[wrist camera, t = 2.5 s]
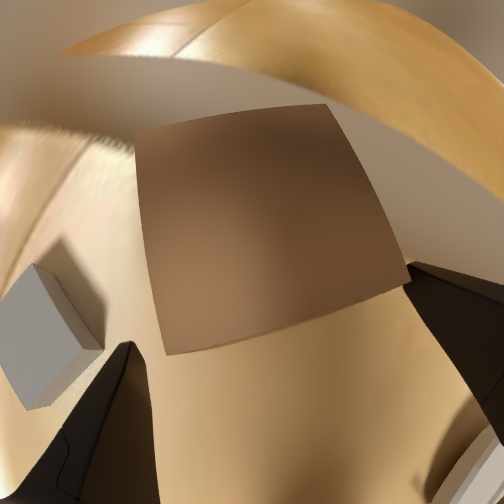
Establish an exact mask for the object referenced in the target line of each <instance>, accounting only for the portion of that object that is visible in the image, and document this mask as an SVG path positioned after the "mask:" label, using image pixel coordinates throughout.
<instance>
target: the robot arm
mask: <svg viewBox="0 0 504 504" xmlns="http://www.w3.org/2000/svg"><path fill="white" fill-rule="evenodd" d="M406 267H407V269H408V272H409V275H410V278H411V281H410V282H408V283H406V284H404V285H403V290H404V292H405V293H406V295H407V296H408V298H409V299H410V301H411V303H412V304H413V306H414V307H415V309H416V311H417V312H418V314H419V315H420V317H421V319H422V320H423V322H424V323H425V325H426V326H427V327H428V329H429V330H430V331H431V333H432V334H433V336H434V337H435V338H436V340H437V341H438V343H439V344H440V345H441V347H442V348H443V350H444V351H445V352H446V354H447V355H448V357H449V358H450V360H451V361H452V363H453V364H454V366H455V367H456V369H457V370H458V372H459V373H460V375H461V376H462V378H463V379H464V381H465V382H466V384H467V385H468V387H469V389H470V390H471V392H472V393H473V395H474V397H475V398H476V400H477V402H478V403H479V405H480V407H481V409H482V410H483V412H484V414H485V416H486V417H487V419H488V421H489V423H490V424H491V426H492V428H493V430H494V432H495V434H496V436H497V437H498V439H499V441H500V443H501V445H502V446H503V447H504V285H500V284H498V283H494V282H490V281H487V280H484V279H480V278H476V277H473V276H470V275H466V274H462V273H459V272H455V271H451V270H448V269H444V268H440V267H436V266H433V265H429V264H425V263H421V262H417V261H415V262H412V263H409V264H407V265H406ZM0 504H160V497H159V489H158V481H157V472H156V462H155V451H154V437H153V419H152V407H151V400H150V393H149V386H148V378H147V370H146V364H145V361H144V358H143V357H142V355H141V353H140V351H139V350H138V348H137V346H136V344H135V343H134V342H133V341H127V342H122V343H120V344H119V345H118V346H117V348H116V349H115V350H114V352H113V353H112V354H111V356H110V357H109V358H108V360H107V361H106V363H105V364H104V365H103V367H102V368H101V370H100V371H99V372H98V374H97V375H96V377H95V378H94V379H93V381H92V382H91V384H90V385H89V387H88V388H87V389H86V391H85V392H84V394H83V395H82V397H81V398H80V400H79V401H78V403H77V404H76V406H75V407H74V409H73V410H72V412H71V413H70V415H69V416H68V418H67V419H66V421H65V422H64V424H63V425H62V428H60V430H59V431H58V433H57V434H56V436H55V437H54V439H53V440H52V442H51V443H50V445H49V446H48V448H47V449H46V451H45V452H44V454H43V455H42V456H41V458H40V459H39V460H38V462H37V463H36V464H35V466H34V467H33V468H32V470H31V471H30V472H29V474H28V475H27V476H26V478H25V479H24V480H23V482H22V483H21V484H20V486H19V487H18V488H17V489H16V491H14V492H13V493H12V494H11V495H9V496H8V497H6V498H3V499H0ZM496 504H504V496H503V497H502V498H501V499H500V500H499V501H498V502H497V503H496Z"/></svg>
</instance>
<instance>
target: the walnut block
mask: <svg viewBox="0 0 504 504" xmlns="http://www.w3.org/2000/svg"><path fill="white" fill-rule="evenodd" d="M134 140H135V159H136V174H137V186H138V197H139V207H140V216H141V224H142V232H143V239H144V246H145V253H146V259H147V265H148V271H149V277H150V283H151V288H152V293H153V298H154V303H155V308H156V313H157V318H158V322H159V327H160V331H161V335H162V340H163V344H164V348H165V352H166V356H168V355H176V354H183V353H190V352H196V351H203V350H209V349H213V348H217V347H221V346H225V345H229V344H233V343H237V342H241V341H245V340H248V339H252V338H256V337H259V336H263V335H266V334H270V333H273V332H277V331H280V330H284V329H287V328H290V327H293V326H297V325H300V324H303V323H306V322H309V321H312V320H314V319H317V318H320V317H323V316H326V315H329V314H331V313H334V312H337V311H339V310H342V309H345V308H347V307H350V306H353V305H355V304H358V303H360V302H363V301H365V300H368V299H370V298H373V297H375V296H378V295H380V294H383V293H385V292H387V291H390V290H392V289H394V288H397V287H399V286H401V285H404V284H406V283H408V282H410V281H411V278H410V275H409V272H408V269H407V267H406V264H405V261H404V259H403V256H402V253H401V251H400V248H399V246H398V243H397V241H396V238H395V236H394V233H393V231H392V229H391V226H390V224H389V222H388V219H387V217H386V215H385V212H384V210H383V208H382V206H381V204H380V201H379V199H378V197H377V195H376V193H375V191H374V189H373V187H372V185H371V183H370V181H369V179H368V177H367V175H366V173H365V171H364V169H363V167H362V165H361V163H360V161H359V160H358V158H357V156H356V154H355V152H354V150H353V149H352V147H351V145H350V143H349V141H348V139H347V138H346V136H345V134H344V133H343V131H342V129H341V128H340V126H339V124H338V122H337V121H336V119H335V118H334V116H333V114H332V113H331V111H330V110H329V108H328V106H327V105H326V104H314V105H297V106H285V107H275V108H265V109H257V110H249V111H241V112H235V113H228V114H222V115H216V116H211V117H205V118H200V119H195V120H190V121H186V122H181V123H176V124H172V125H168V126H164V127H160V128H156V129H152V130H148V131H144V132H140V133H137V134H134Z"/></svg>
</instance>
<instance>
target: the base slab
mask: <svg viewBox="0 0 504 504" xmlns="http://www.w3.org/2000/svg"><path fill="white" fill-rule="evenodd" d="M103 351H104V349H103V348H102V346H101V345H100V344H99V342H98V341H97V340H96V338H95V337H94V336H93V334H92V333H91V331H90V330H89V329H88V327H87V326H86V324H85V323H84V321H83V320H82V318H81V317H80V315H79V314H78V312H77V311H76V309H75V308H74V306H73V305H72V303H71V302H70V300H69V299H68V297H67V295H66V294H65V292H64V290H63V289H62V287H61V285H60V284H59V282H58V280H57V279H56V277H55V275H54V274H52V273H50V272H48V271H46V270H44V269H42V268H40V267H39V266H37V265H35V264H33V263H32V264H31V265H30V266H29V267H28V268H27V269H26V271H25V272H24V273H23V274H22V275H21V276H20V278H19V279H18V280H17V281H16V283H15V284H14V285H13V286H12V288H11V289H10V290H9V291H8V293H7V294H6V295H5V296H4V298H3V299H2V300H1V302H0V365H1V367H2V369H3V371H4V373H5V375H6V377H7V379H8V380H9V382H10V384H11V386H12V388H13V389H14V391H15V393H16V394H17V396H18V398H19V399H20V401H21V403H22V404H23V406H24V407H25V409H26V410H27V411H28V410H33V409H37V408H42V407H46V406H50V405H51V404H52V403H53V402H54V401H55V400H56V399H57V398H58V397H59V396H60V395H61V394H62V393H63V392H64V391H65V390H66V388H67V387H68V386H69V385H70V384H71V383H72V382H73V381H74V380H75V379H76V378H77V377H78V376H79V375H80V374H81V373H82V372H83V371H84V370H85V369H86V368H87V367H88V366H89V365H90V364H91V363H92V362H93V361H94V360H95V359H96V358H97V357H98V356H99V355H100V354H101V353H102V352H103Z"/></svg>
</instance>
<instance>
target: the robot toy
mask: <svg viewBox="0 0 504 504" xmlns="http://www.w3.org/2000/svg"><path fill="white" fill-rule="evenodd" d="M503 496H504V447H503V446H502V445H501V443H500V441H499V439H498V437H497V436H496V434H495V432H494V430H493V428H492V426H491V424H490V425H489V426H488V427H487V428H485V429H484V430H483V431H482V432H481V433H480V434H479V435H478V436H477V438H476V439H475V440H474V441H473V442H472V443H471V445H470V446H469V447H468V449H467V450H466V451H465V452H464V454H463V455H462V456H461V457H460V459H459V460H458V461H457V462H456V464H455V466H454V467H453V469H452V470H451V472H450V473H449V475H448V476H447V478H446V479H445V480H444V482H443V483H442V485H441V487H440V488H439V490H438V491H437V493H436V495H435V496H434V498H433V501H432V504H496V503H497V502H498V501H499V500H500V499H501V498H502V497H503Z"/></svg>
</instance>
